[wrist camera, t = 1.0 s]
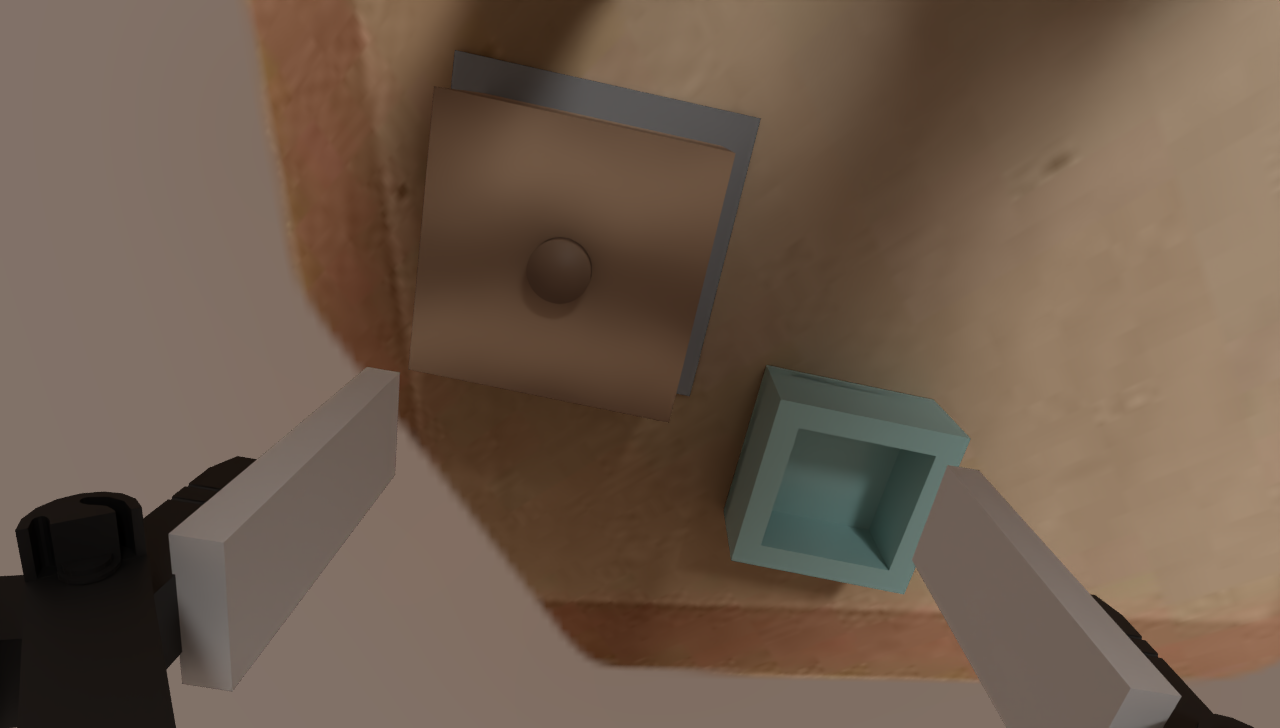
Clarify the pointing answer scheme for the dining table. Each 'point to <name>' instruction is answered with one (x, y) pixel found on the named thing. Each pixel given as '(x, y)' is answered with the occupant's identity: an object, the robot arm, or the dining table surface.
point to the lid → (562, 252)
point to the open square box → (838, 479)
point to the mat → (638, 112)
